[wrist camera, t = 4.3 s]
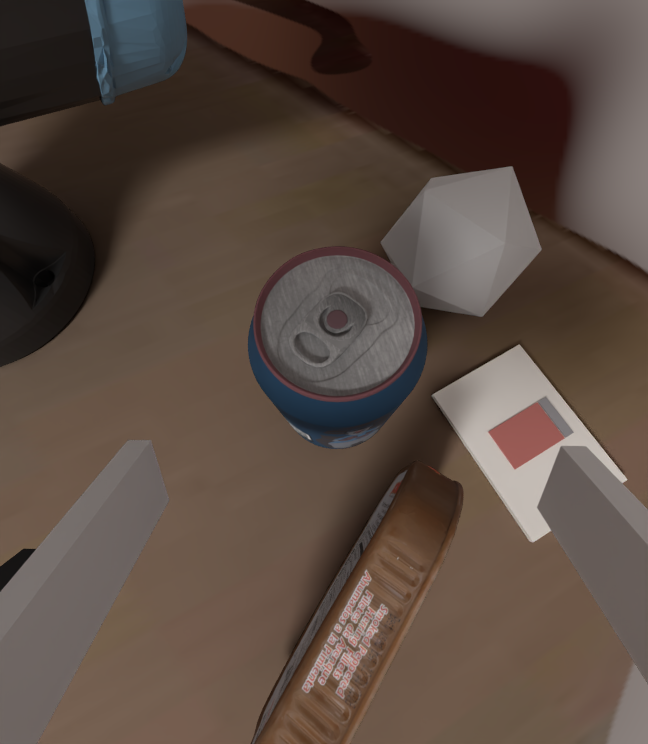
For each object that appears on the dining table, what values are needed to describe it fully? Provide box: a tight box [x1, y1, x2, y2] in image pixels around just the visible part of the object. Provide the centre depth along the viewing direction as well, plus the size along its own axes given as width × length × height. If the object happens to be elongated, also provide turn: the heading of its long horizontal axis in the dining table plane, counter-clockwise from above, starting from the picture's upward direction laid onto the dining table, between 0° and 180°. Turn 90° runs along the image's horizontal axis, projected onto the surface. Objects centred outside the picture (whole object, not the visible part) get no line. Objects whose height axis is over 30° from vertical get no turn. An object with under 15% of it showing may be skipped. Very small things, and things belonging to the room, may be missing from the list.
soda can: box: [248, 246, 427, 449], centre depth 17 cm, size 7×7×12 cm
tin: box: [251, 461, 463, 744], centre depth 16 cm, size 15×3×8 cm, turn 146°
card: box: [431, 344, 627, 542], centre depth 22 cm, size 10×7×1 cm
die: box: [380, 166, 542, 317], centre depth 22 cm, size 8×9×10 cm
